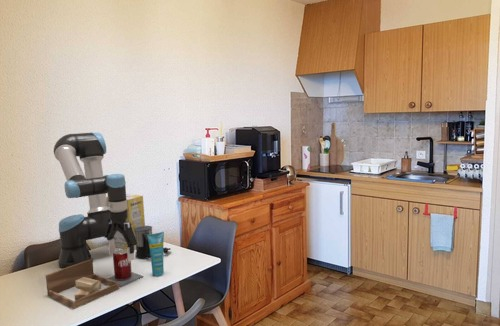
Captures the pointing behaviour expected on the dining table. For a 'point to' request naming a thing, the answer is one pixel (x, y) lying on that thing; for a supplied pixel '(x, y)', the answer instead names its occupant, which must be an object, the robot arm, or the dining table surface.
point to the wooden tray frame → (67, 279)
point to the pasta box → (131, 218)
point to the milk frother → (144, 242)
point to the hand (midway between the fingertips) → (121, 256)
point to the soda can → (121, 265)
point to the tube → (156, 252)
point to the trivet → (125, 282)
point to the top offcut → (87, 284)
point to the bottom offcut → (85, 293)
